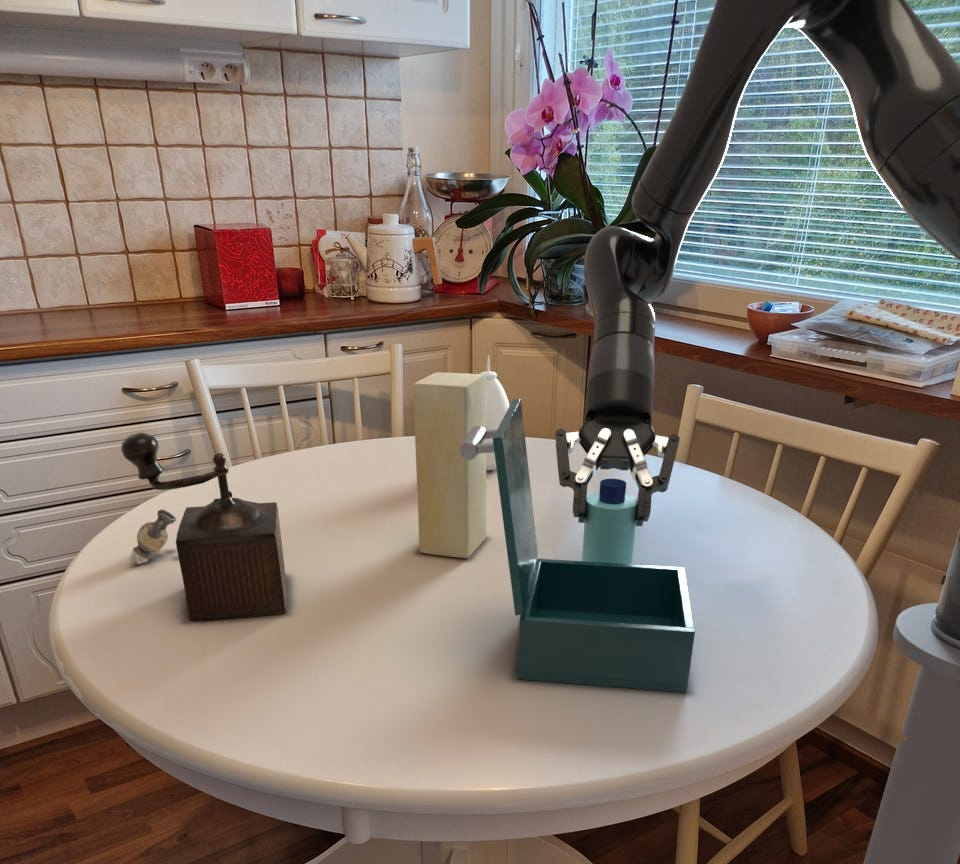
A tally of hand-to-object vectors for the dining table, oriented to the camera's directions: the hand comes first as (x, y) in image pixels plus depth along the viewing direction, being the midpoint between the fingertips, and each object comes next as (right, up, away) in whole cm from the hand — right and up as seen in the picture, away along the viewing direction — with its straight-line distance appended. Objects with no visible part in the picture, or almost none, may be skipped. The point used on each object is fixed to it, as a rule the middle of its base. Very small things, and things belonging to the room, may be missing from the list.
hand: (610, 521), depth 92 cm
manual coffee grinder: (-44, -8, +3) cm, 45 cm away
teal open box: (-2, -14, -7) cm, 15 cm away
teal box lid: (-10, 0, -12) cm, 16 cm away
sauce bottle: (-13, +15, +48) cm, 52 cm away
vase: (-54, -3, +14) cm, 56 cm away
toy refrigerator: (-18, -1, +18) cm, 25 cm away
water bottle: (0, -6, +5) cm, 7 cm away
